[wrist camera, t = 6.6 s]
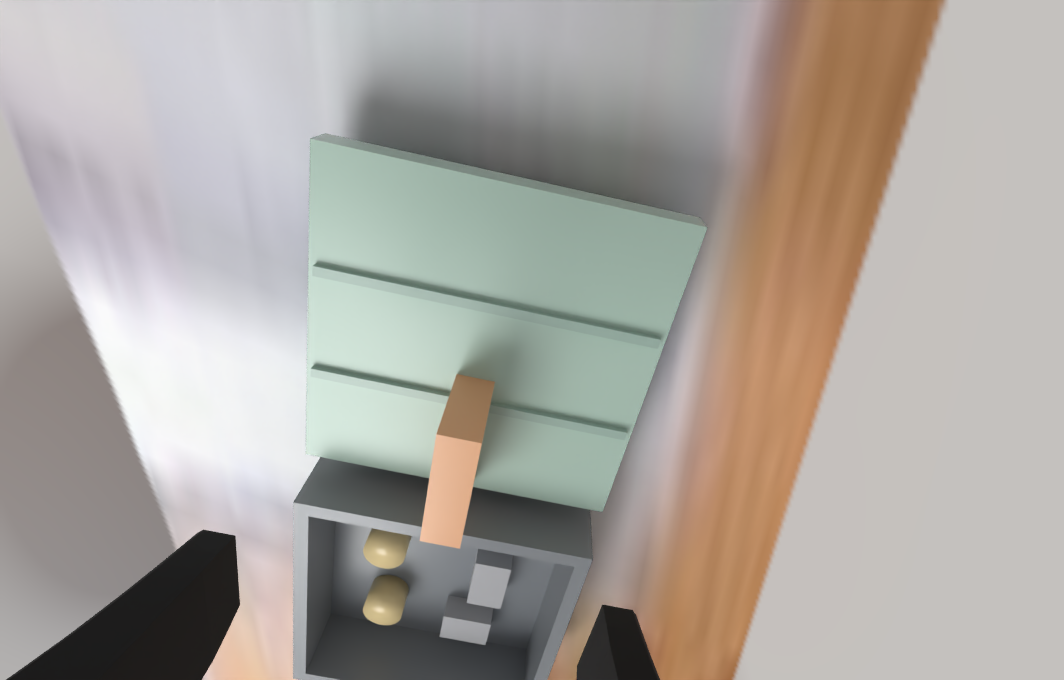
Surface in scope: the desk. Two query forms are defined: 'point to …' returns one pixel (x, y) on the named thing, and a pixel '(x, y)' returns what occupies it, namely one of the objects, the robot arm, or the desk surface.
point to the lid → (481, 325)
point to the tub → (429, 581)
